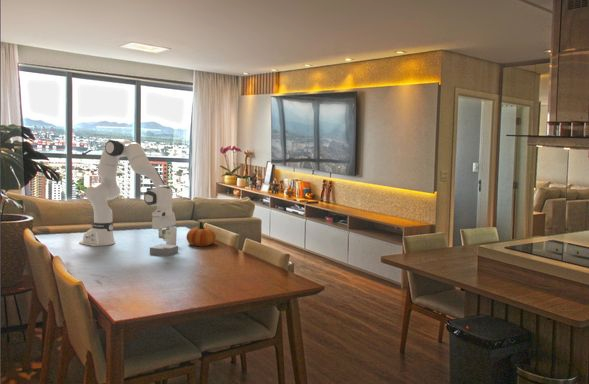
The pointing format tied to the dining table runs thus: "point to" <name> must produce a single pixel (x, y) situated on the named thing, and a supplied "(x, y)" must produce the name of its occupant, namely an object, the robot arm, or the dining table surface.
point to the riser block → (163, 249)
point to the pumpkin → (201, 236)
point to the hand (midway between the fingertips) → (164, 234)
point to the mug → (171, 236)
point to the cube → (165, 234)
